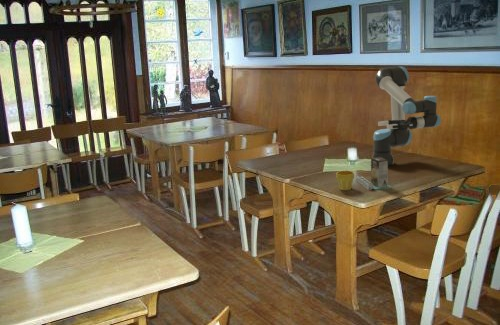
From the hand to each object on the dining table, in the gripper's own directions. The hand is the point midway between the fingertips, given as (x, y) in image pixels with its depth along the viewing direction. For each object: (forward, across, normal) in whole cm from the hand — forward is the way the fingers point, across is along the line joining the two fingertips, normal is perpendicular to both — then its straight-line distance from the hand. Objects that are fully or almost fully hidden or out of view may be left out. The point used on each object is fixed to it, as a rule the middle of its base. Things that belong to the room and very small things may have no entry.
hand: (382, 125), depth 310 cm
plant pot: (+31, -19, -32) cm, 48 cm away
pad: (+11, -21, -32) cm, 40 cm away
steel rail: (+18, -16, -32) cm, 40 cm away
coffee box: (+11, -21, -32) cm, 40 cm away
